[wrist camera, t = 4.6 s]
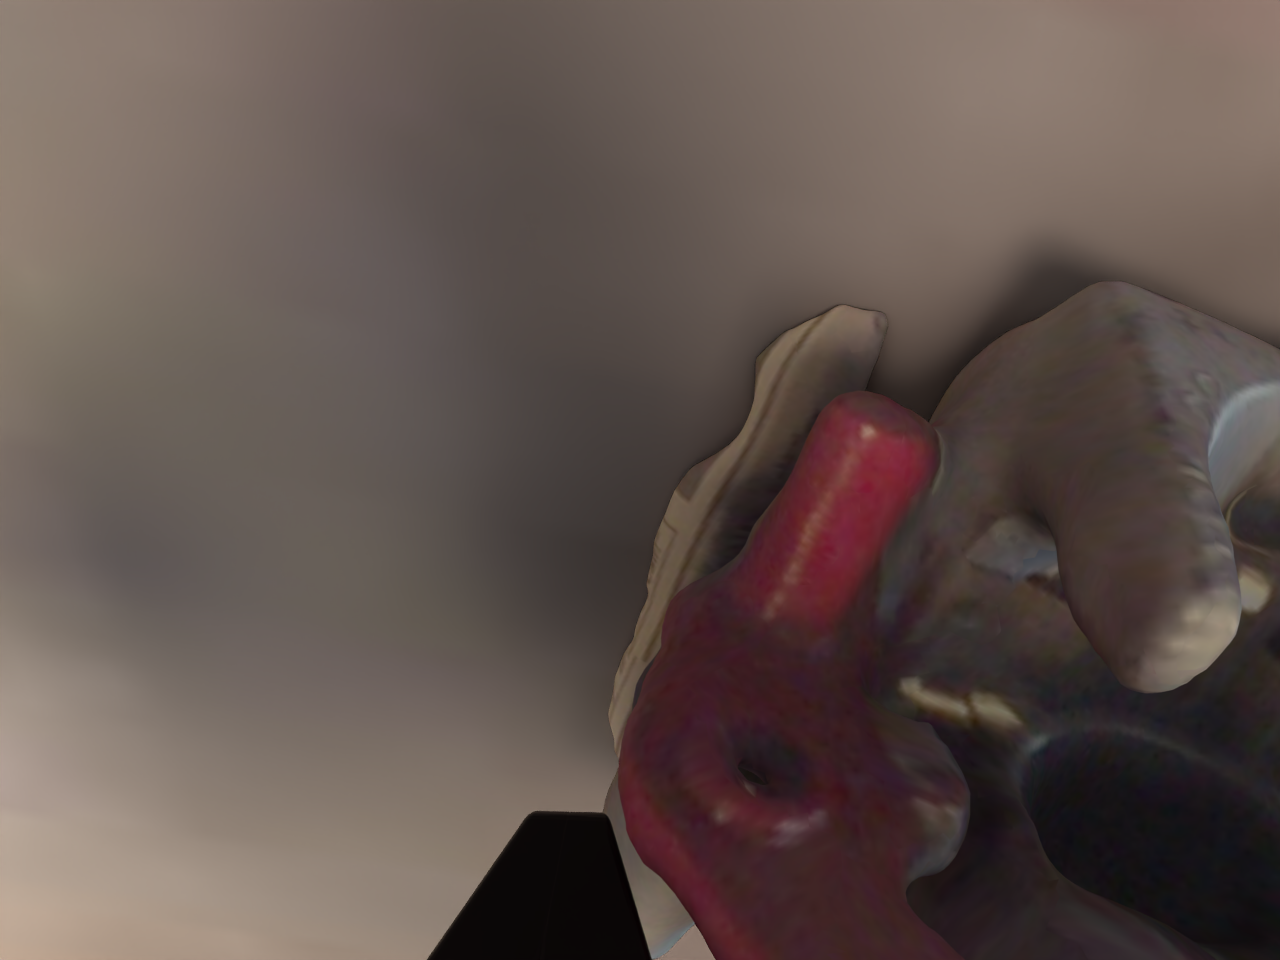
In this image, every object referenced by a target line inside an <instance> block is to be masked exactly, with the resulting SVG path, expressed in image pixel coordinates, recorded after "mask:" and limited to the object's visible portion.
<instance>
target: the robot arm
mask: <svg viewBox="0 0 1280 960" xmlns="http://www.w3.org/2000/svg"><path fill="white" fill-rule="evenodd" d="M427 960H652V958H651V955H650V951H649V948H648V945H647V941H646V938H645V935H644V931H643V928H642V924H641V921H640V918H639V914H638V911H637V908H636V904H635V901H634V898H633V894H632V891H631V888H630V884H629V881H628V877H627V874H626V871H625V867H624V864H623V861H622V857H621V854H620V851H619V847H618V844H617V841H616V837H615V834H614V830H613V827H612V824H611V821H610V819H609V817H608V816H607V815H606V814H604V813H597V812H559V811H535V812H532V813H531V814H529V815H528V816H527V817H526V818H525V819H524V821H523V822H522V823H521V825H520V826H519V828H518V829H517V831H516V832H515V834H514V835H513V836H512V838H511V839H510V841H509V842H508V844H507V845H506V846H505V848H504V849H503V851H502V852H501V854H500V855H499V857H498V858H497V859H496V861H495V862H494V864H493V865H492V867H491V868H490V870H489V871H488V872H487V874H486V875H485V877H484V878H483V880H482V881H481V882H480V884H479V885H478V887H477V888H476V890H475V891H474V893H473V894H472V895H471V897H470V898H469V900H468V901H467V903H466V904H465V906H464V907H463V908H462V910H461V911H460V913H459V914H458V916H457V917H456V918H455V920H454V921H453V923H452V924H451V926H450V927H449V929H448V930H447V931H446V933H445V934H444V936H443V937H442V939H441V940H440V942H439V943H438V944H437V946H436V947H435V949H434V950H433V952H432V953H431V955H430V956H429V957H428V959H427Z"/></svg>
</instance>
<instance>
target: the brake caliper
mask: <svg viewBox="0 0 1280 960" xmlns="http://www.w3.org/2000/svg"><path fill="white" fill-rule="evenodd" d="M887 329H888V322H887V318H886V316H885V314H884V313H882V312H877V311H867V310H861V309H858V308H853V307H851V306H847V305H839V306H837V307H835V308H833V309H832V310H830V311H828V312H826V313H825V314H823V315H821V316H818V317H816V318H813V319H811V320H809V321H807V322H805V323H803V324H801V325H799V326H797V327H796V328H794V329H791V330H788V331H786V332H784V333H783V334H781V335H780V336H779V337H778V338H777V339H776V340H775V341H774V342H773V343H772V344H770V345H769V346H768V347H767V348H766V349H765V350H764V351H763V352H762V353H761V354H760V355H759V356H758V357H757V359H756V364H755V372H756V379H755V396H754V402H753V405H752V408H751V411H750V414H749V417H748V419H747V421H746V423H745V425H744V427H743V429H742V431H741V432H740V433H739V435H738V436H737V437H736V438H735V439H734V440H733V441H732V442H731V443H730V444H729V445H728V446H727V447H725V448H723V449H722V450H720V451H719V452H718V453H716V454H715V455H713V456H710V457H709V458H707V459H705V460H704V461H702V462H700V463H698V464H696V465H694V466H693V467H692V468H691V469H689V471H688V472H687V474H686V475H685V476H684V477H683V479H682V480H681V481H680V483H679V485H678V486H677V488H676V489H675V491H674V493H673V495H672V498H671V500H670V503H669V505H668V508H667V511H666V513H665V515H664V518H663V520H662V522H661V525H660V527H659V529H658V532H657V535H656V538H655V541H654V547H653V558H652V562H651V565H650V570H649V574H648V579H647V589H648V597H647V601H646V603H645V605H644V606H643V608H642V611H641V613H640V616H639V619H638V622H637V625H636V628H635V633H634V638H633V640H632V642H631V644H630V645H629V647H628V648H627V650H626V651H625V652H624V654H623V657H622V660H621V662H620V665H619V668H618V671H617V673H616V676H615V681H614V689H613V695H612V700H611V704H610V707H609V711H608V716H609V723H610V726H611V729H612V733H613V737H614V741H615V742H614V748H615V753H616V755H617V757H618V758H619V767H618V769H617V772H616V775H615V777H614V779H613V781H612V783H611V786H610V788H609V790H608V793H607V796H606V800H605V805H604V809H603V812H602V813H604V814H606V815H607V816H608V817H609V819H610V821H611V824H612V827H613V830H614V834H615V837H616V841H617V844H618V847H619V851H620V854H621V857H622V861H623V864H624V867H625V871H626V874H627V877H628V881H629V884H630V888H631V891H632V894H633V898H634V901H635V904H636V908H637V911H638V914H639V918H640V921H641V924H642V928H643V931H644V935H645V938H646V941H647V945H648V948H649V951H650V955H651V958H652V959H656V958H659V957H660V956H662V955H663V954H665V953H666V952H668V951H669V950H670V949H671V948H672V947H673V946H674V944H675V943H676V942H677V941H678V940H679V939H680V938H681V937H682V936H683V935H684V934H685V933H686V932H687V931H688V930H689V929H690V928H691V927H692V926H693V925H694V924H696V926H697V927H698V929H699V931H700V932H701V934H702V935H703V937H704V939H705V941H706V943H707V945H708V947H709V949H710V951H711V952H712V954H713V956H714V958H715V959H716V960H1280V349H1278V348H1276V347H1274V346H1272V345H1270V344H1268V343H1266V342H1264V341H1262V340H1260V339H1258V338H1256V337H1254V336H1252V335H1250V334H1247V333H1245V332H1243V331H1241V330H1239V329H1237V328H1235V327H1233V326H1231V325H1229V324H1227V323H1225V322H1222V321H1220V320H1218V319H1216V318H1213V317H1211V316H1209V315H1206V314H1204V313H1202V312H1199V311H1197V310H1195V309H1192V308H1190V307H1188V306H1186V305H1183V304H1181V303H1179V302H1176V301H1173V300H1171V299H1168V298H1166V297H1163V296H1161V295H1158V294H1156V293H1154V292H1151V291H1149V290H1146V289H1143V288H1141V287H1138V286H1135V285H1132V284H1129V283H1126V282H1123V281H1101V282H1098V283H1095V284H1092V285H1090V286H1087V287H1086V288H1085V289H1083V290H1082V291H1080V292H1078V293H1076V294H1075V295H1073V296H1072V297H1070V298H1069V299H1067V300H1066V301H1065V302H1063V303H1062V304H1060V305H1059V306H1057V307H1056V308H1054V309H1052V310H1051V311H1049V312H1048V313H1046V314H1044V315H1043V316H1041V317H1040V318H1038V319H1036V320H1034V321H1030V322H1028V323H1025V324H1023V325H1021V326H1019V327H1016V328H1014V329H1012V330H1010V331H1008V332H1006V333H1005V334H1003V335H1002V336H1000V337H999V338H998V339H996V340H995V341H993V342H992V343H991V344H989V345H988V346H987V347H986V348H984V349H983V350H982V351H981V352H980V353H979V354H978V355H977V356H975V357H974V358H973V359H972V360H971V361H970V362H969V363H968V364H967V365H966V366H965V367H964V368H963V369H962V370H961V371H960V372H959V374H958V375H957V376H956V378H955V379H954V380H953V382H952V383H951V384H950V386H949V388H948V389H947V391H946V392H945V394H944V396H943V397H942V399H941V401H940V402H939V404H938V406H937V408H936V409H935V411H934V413H933V415H932V417H931V419H930V421H929V423H928V422H927V421H926V420H925V419H923V418H922V417H921V416H919V415H918V414H916V413H915V412H913V411H912V410H910V409H907V408H905V407H902V406H901V405H899V404H898V403H896V402H895V401H893V400H892V399H890V398H888V397H886V396H884V395H881V394H877V393H873V392H869V391H865V389H866V387H867V384H868V382H869V379H870V376H871V373H872V370H873V368H874V365H875V363H876V361H877V359H878V357H879V353H880V350H881V346H882V343H883V340H884V337H885V334H886V331H887Z"/></svg>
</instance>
